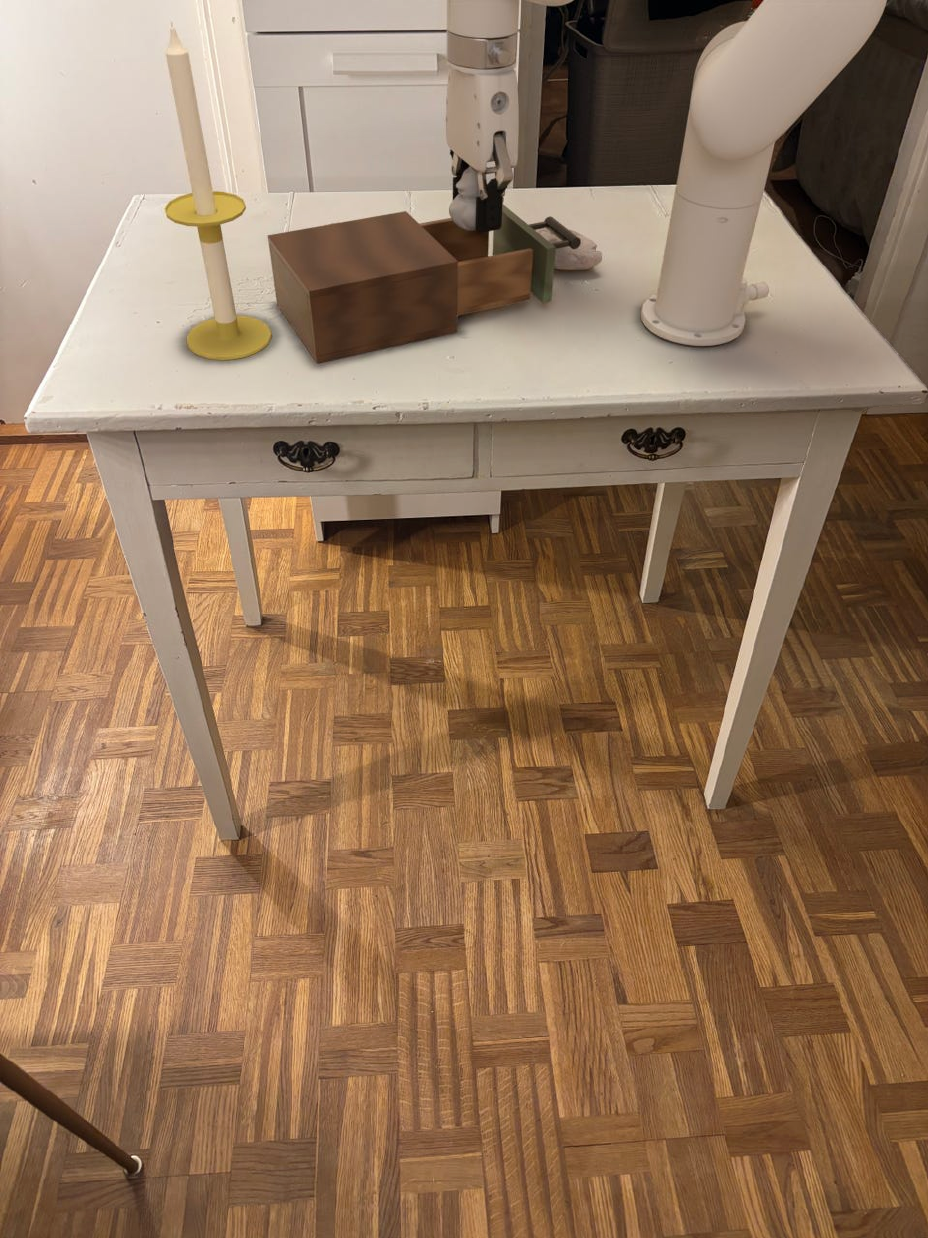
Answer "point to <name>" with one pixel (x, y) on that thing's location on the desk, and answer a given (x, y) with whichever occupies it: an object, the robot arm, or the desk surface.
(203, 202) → the candle
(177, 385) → the desk surface
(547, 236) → the fossil
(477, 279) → the drawer
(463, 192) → the rubber duck
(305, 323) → the cabinet
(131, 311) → the desk surface
